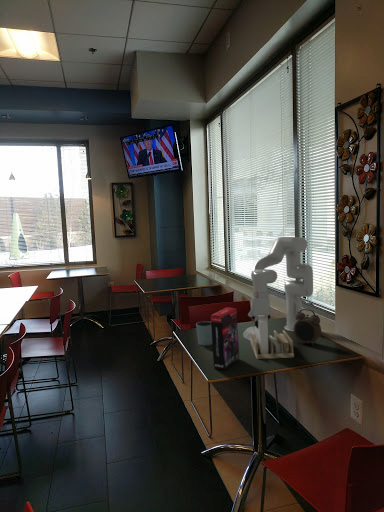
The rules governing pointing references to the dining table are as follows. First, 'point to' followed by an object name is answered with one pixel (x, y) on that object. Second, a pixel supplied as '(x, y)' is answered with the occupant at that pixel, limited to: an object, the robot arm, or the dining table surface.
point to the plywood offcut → (284, 344)
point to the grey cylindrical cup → (204, 333)
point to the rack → (270, 347)
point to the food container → (248, 333)
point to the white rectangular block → (262, 334)
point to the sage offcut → (275, 346)
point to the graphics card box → (225, 338)
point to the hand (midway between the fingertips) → (261, 326)
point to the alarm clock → (307, 327)
